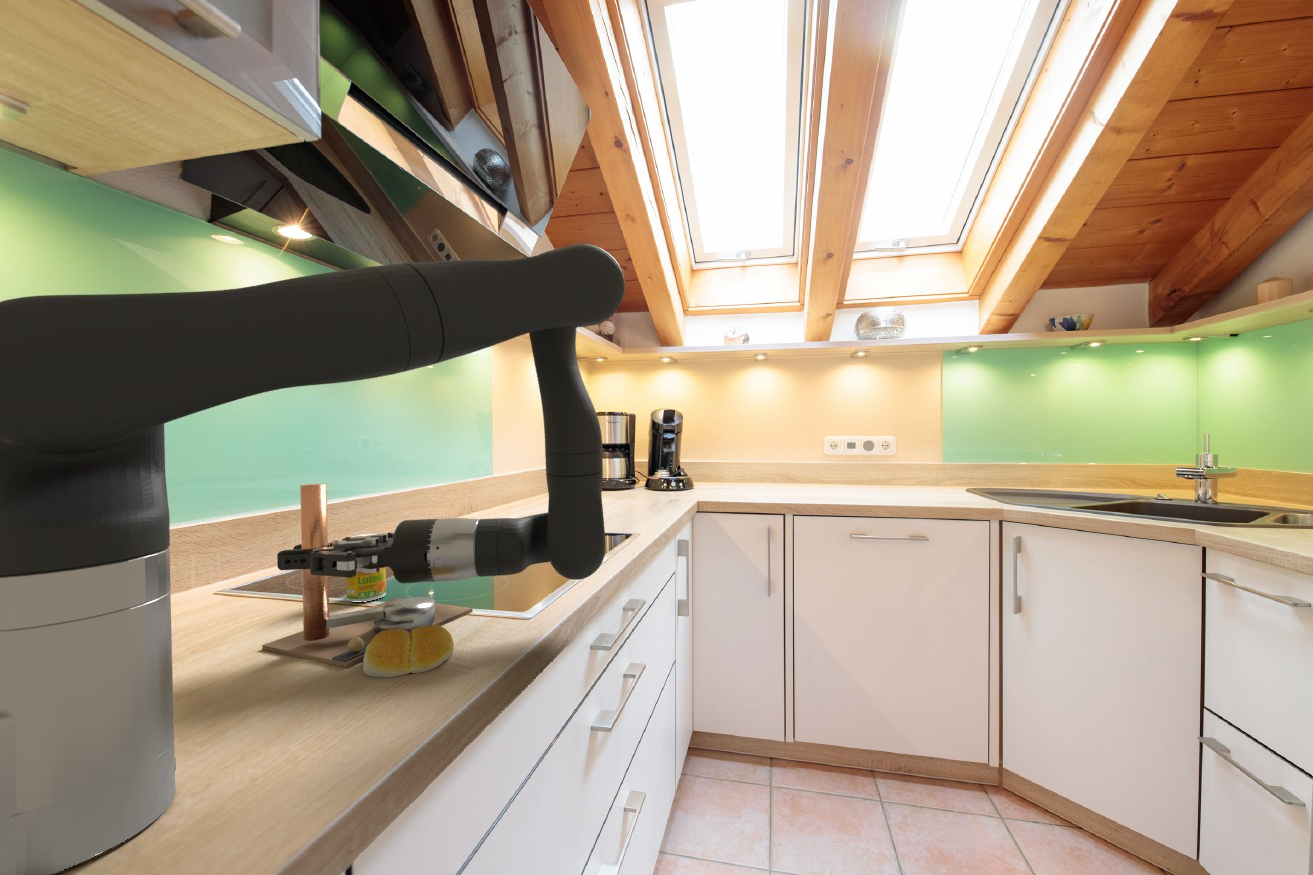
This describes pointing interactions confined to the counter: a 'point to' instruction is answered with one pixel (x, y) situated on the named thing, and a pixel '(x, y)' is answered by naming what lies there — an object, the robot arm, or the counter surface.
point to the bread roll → (407, 651)
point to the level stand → (349, 639)
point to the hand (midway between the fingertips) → (287, 557)
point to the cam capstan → (317, 586)
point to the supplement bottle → (366, 584)
